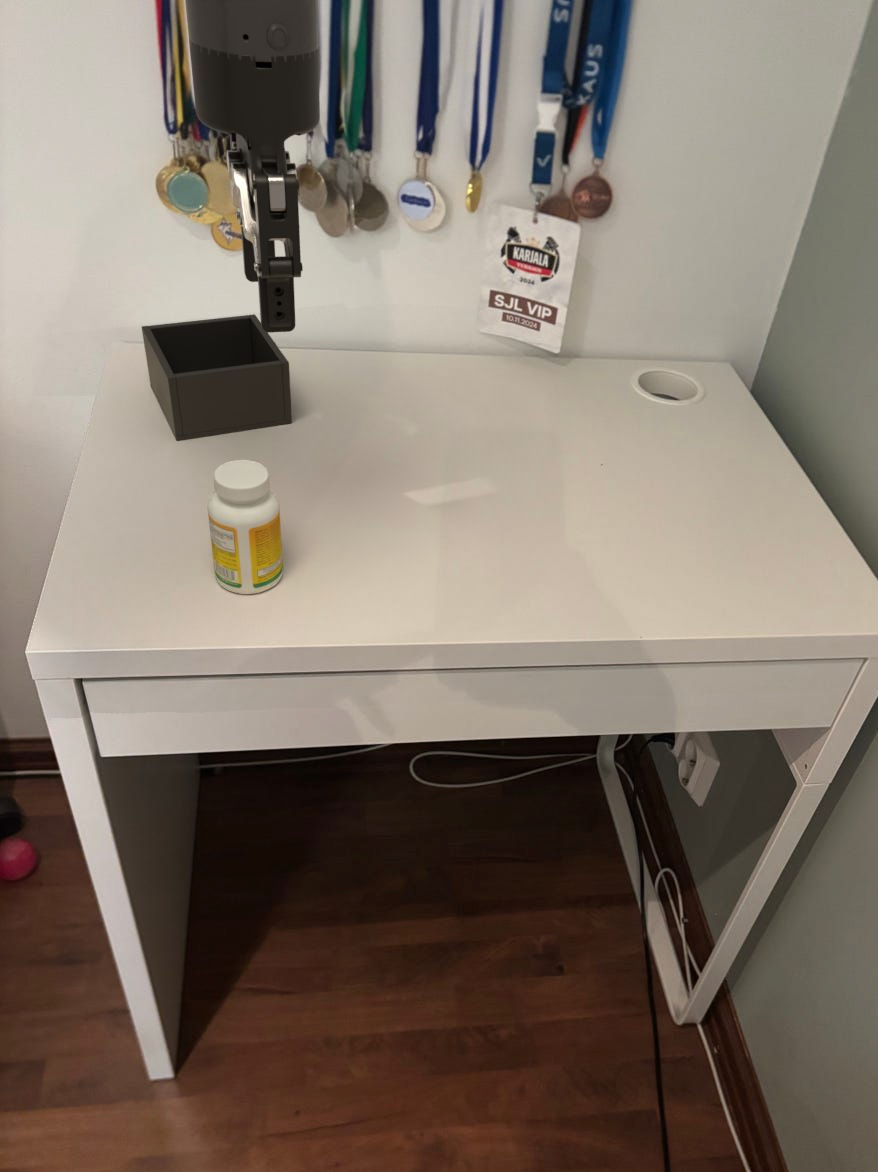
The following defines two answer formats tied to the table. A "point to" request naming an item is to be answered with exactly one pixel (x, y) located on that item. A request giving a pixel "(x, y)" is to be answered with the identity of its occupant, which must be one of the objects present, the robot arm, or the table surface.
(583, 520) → the table surface
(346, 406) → the table surface
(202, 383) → the basket
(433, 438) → the table surface
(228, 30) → the robot arm
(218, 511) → the supplement bottle
